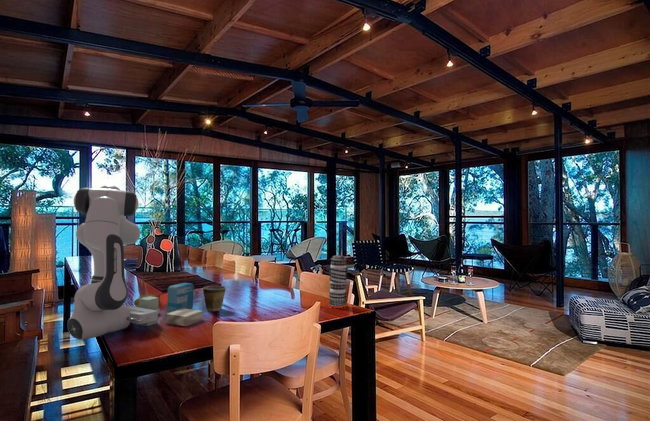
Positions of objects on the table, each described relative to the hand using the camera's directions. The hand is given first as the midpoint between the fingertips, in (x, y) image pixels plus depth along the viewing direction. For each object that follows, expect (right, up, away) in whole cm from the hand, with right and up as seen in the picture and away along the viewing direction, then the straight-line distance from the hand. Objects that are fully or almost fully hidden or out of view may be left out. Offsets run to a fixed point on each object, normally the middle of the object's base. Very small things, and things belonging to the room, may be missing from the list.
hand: (149, 309), depth 146 cm
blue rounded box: (+5, -6, +19) cm, 20 cm away
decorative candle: (+76, -9, +36) cm, 84 cm away
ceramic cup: (+17, -7, +25) cm, 31 cm away
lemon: (-8, -6, +14) cm, 17 cm away
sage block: (0, -5, -1) cm, 6 cm away
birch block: (+12, -6, +4) cm, 14 cm away
